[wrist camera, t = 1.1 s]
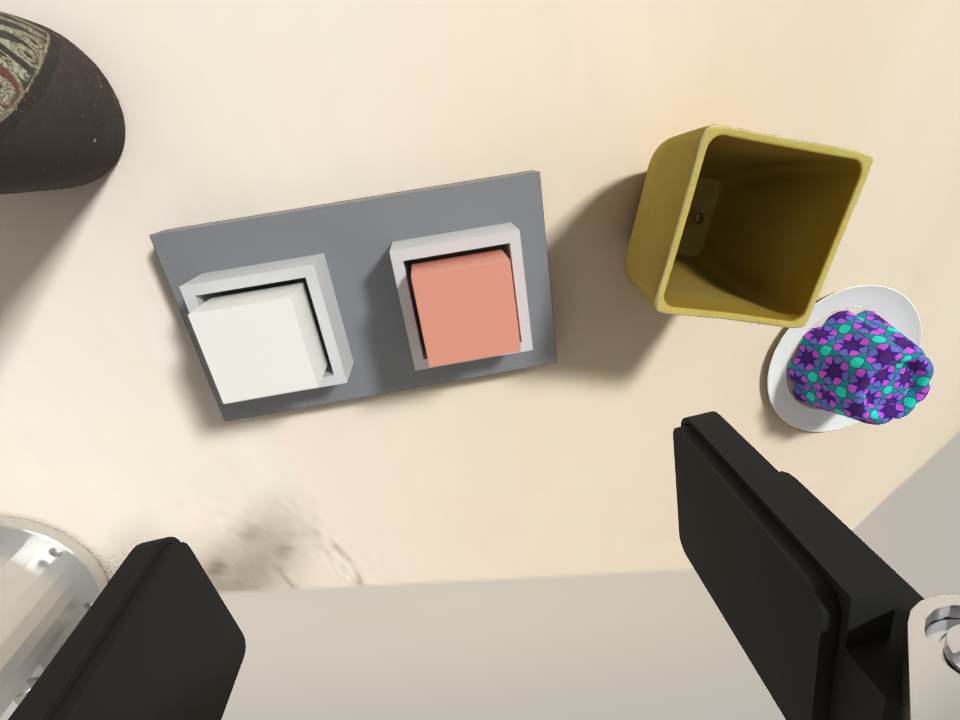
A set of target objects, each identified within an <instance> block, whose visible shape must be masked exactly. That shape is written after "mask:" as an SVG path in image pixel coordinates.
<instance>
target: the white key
mask: <svg viewBox="0 0 960 720" xmlns="http://www.w3.org/2000/svg"><path fill="white" fill-rule="evenodd" d="M188 317H189V319H190V322H191V324H192V327H193V329H194V332H195V334H196V337H197V339H198V342H199V344H200V347H201V349H202V352H203V354H204V357H205V359H206V362H207V364H208V367H209V369H210V372H211V374H212V377H213V379H214V382H215V384H216V387H217V389H218V392H219V394H220V397H221V399H222V402H223V404H226V403H231V402H237V401H243V400H248V399H254V398H260V397H265V396H271V395H277V394H282V393H288V392H294V391H299V390H305V389H311V388H316V387H318V386H319V384H320V381H321V379H322V377H323V374H324V372H325V370H326V368H327V365H328V364H327V361H326V357H325V354H324V350H323V347H322V344H321V340H320V337H319V334H318V330H317V327H316V323H315V320H314V317H313V313H312V310H311V306H310V303H309V300H308V296H307V293H306V289H305V286H304V283H303V282H302V283H296V284H290V285H284V286H278V287H272V288H266V289H260V290H254V291H248V292H242V293H236V294H230V295H224V296H218V297H212V298H210V299H209V300H207V301H206V302H205V303H203V304H202V305H200V306H199V307H198V308H196V309H195V310H193V311H192V312H191V313H189V314H188Z"/></svg>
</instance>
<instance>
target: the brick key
mask: <svg viewBox="0 0 960 720" xmlns="http://www.w3.org/2000/svg"><path fill="white" fill-rule="evenodd" d="M411 279H412V284H413V289H414V294H415V299H416V304H417V309H418V313H419V318H420V323H421V328H422V333H423V338H424V343H425V348H426V353H427V357H428V362H429V367H435V366H441V365H447V364H452V363H458V362H464V361H469V360H475V359H481V358H486V357H492V356H498V355H503V354H509V353H515V352H520V351H521V346H520V338H519V330H518V322H517V313H516V305H515V297H514V289H513V280H512V272H511V264H510V259H509V258H508V257H507V256H506V254H505V253H504V252H503V250H502V249H498V250H492V251H486V252H480V253H474V254H468V255H462V256H456V257H450V258H444V259H439V260H433V261H427V262H421V263H415V264H412V271H411Z"/></svg>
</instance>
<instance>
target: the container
mask: <svg viewBox="0 0 960 720" xmlns="http://www.w3.org/2000/svg"><path fill="white" fill-rule="evenodd" d="M124 139H125V123H124V117H123V113H122V110H121V107H120V104H119V101H118V99H117V97H116V95H115V93H114V91H113V89H112V87H111V86H110V84H109V82H108V81H107V79H106V78H105V76H104V75H103V73H102V72H101V71H100V69H99V68H98V67H97V66H96V64H95V63H94V62H93V61H92V60H91V59H90V58H89V57H88V56H87V55H86V54H84V53H83V52H82V51H81V50H80V49H79V48H78V47H76V46H75V45H74V44H73V43H71V42H70V41H69V40H68V39H66V38H65V37H63V36H62V35H60V34H58V33H56V32H54V31H53V30H51V29H49V28H47V27H45V26H42V25H40V24H37V23H34V22H31V21H29V20H26V19H23V18H20V17H17V16H14V15H11V14H7V13H4V12H0V194H11V193H22V192H34V191H47V190H56V189H63V188H70V187H76V186H80V185H84V184H87V183H90V182H92V181H94V180H96V179H98V178H99V177H101V176H102V175H103V174H105V173H106V172H107V171H108V170H109V169H110V168H111V167H112V166H113V165H114V163H115V162H116V160H117V159H118V157H119V155H120V153H121V150H122V147H123V144H124Z"/></svg>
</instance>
